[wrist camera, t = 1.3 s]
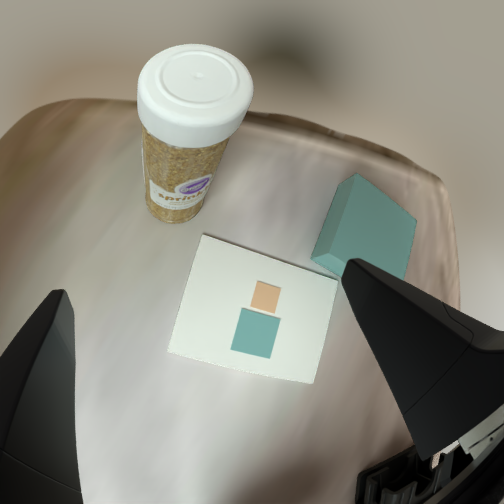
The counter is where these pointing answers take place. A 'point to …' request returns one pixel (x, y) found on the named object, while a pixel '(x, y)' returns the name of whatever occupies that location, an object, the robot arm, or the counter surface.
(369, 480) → the end cap
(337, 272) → the brick
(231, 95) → the sprinkles bottle
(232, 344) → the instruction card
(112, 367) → the counter surface
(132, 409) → the counter surface
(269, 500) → the counter surface
